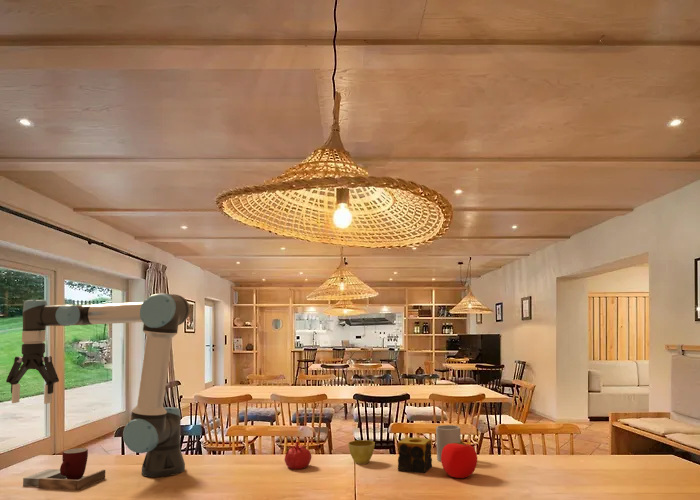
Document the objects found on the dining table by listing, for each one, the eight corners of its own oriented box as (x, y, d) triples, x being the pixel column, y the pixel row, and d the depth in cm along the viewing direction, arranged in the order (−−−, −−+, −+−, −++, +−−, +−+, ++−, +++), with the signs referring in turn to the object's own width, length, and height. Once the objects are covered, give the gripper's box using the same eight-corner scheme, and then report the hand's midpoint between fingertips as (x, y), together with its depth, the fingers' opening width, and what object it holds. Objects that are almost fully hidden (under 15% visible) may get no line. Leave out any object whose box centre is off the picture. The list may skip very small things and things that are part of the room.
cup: (434, 457, 229) (433, 425, 230) (457, 456, 230) (456, 424, 231) (440, 463, 220) (439, 430, 221) (464, 462, 221) (463, 429, 222)
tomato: (436, 479, 198) (435, 444, 200) (445, 469, 211) (444, 436, 212) (473, 483, 194) (472, 447, 195) (480, 472, 207) (479, 438, 208)
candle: (397, 471, 210) (396, 442, 211) (405, 464, 220) (404, 436, 221) (425, 473, 207) (424, 444, 208) (432, 466, 216) (431, 438, 217)
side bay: (106, 478, 210) (106, 469, 210) (78, 490, 196) (78, 480, 196) (50, 475, 215) (50, 466, 215) (19, 486, 201) (19, 477, 201)
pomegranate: (316, 466, 221) (316, 440, 222) (300, 472, 212) (300, 445, 213) (295, 462, 226) (295, 437, 227) (278, 468, 218) (279, 442, 219)
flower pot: (375, 465, 219) (375, 445, 220) (348, 466, 219) (347, 446, 220) (374, 459, 229) (374, 439, 230) (348, 459, 229) (348, 440, 230)
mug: (74, 485, 200) (74, 455, 201) (52, 485, 201) (52, 455, 202) (91, 477, 210) (92, 448, 211) (71, 476, 211) (71, 447, 212)
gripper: (70, 342, 215) (68, 401, 213) (12, 342, 221) (10, 400, 218) (55, 343, 208) (53, 405, 205) (-4, 343, 213) (-7, 404, 211)
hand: (31, 403), depth 212 cm, fingers open, 13 cm apart
